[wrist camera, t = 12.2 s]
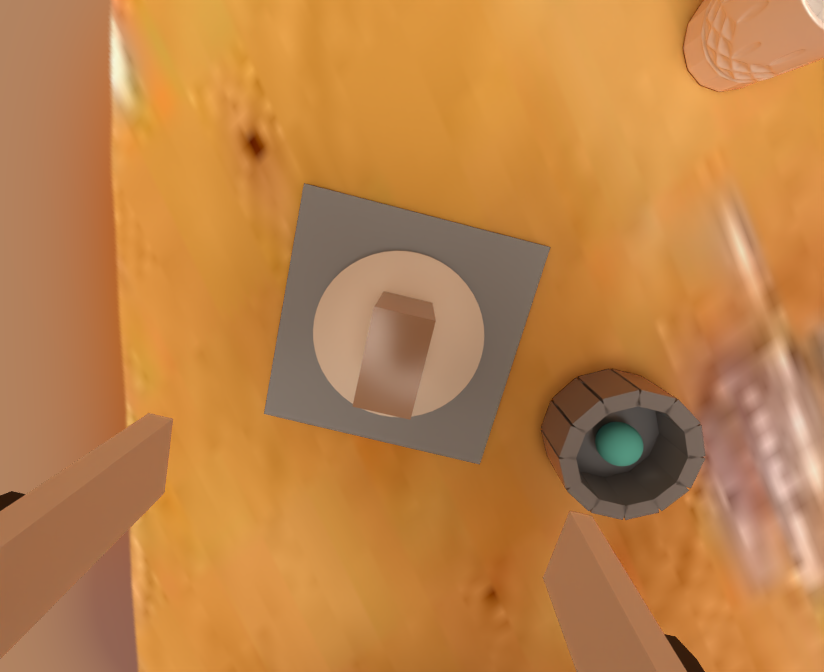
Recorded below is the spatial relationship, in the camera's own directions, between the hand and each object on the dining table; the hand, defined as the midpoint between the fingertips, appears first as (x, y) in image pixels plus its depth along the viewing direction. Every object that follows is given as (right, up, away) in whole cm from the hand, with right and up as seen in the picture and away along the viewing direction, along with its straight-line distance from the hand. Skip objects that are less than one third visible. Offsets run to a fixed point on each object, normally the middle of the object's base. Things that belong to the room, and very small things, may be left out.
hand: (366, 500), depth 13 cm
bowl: (+19, -3, +24) cm, 30 cm away
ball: (+19, -3, +23) cm, 30 cm away
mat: (0, +6, +22) cm, 23 cm away
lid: (0, +5, +21) cm, 22 cm away
